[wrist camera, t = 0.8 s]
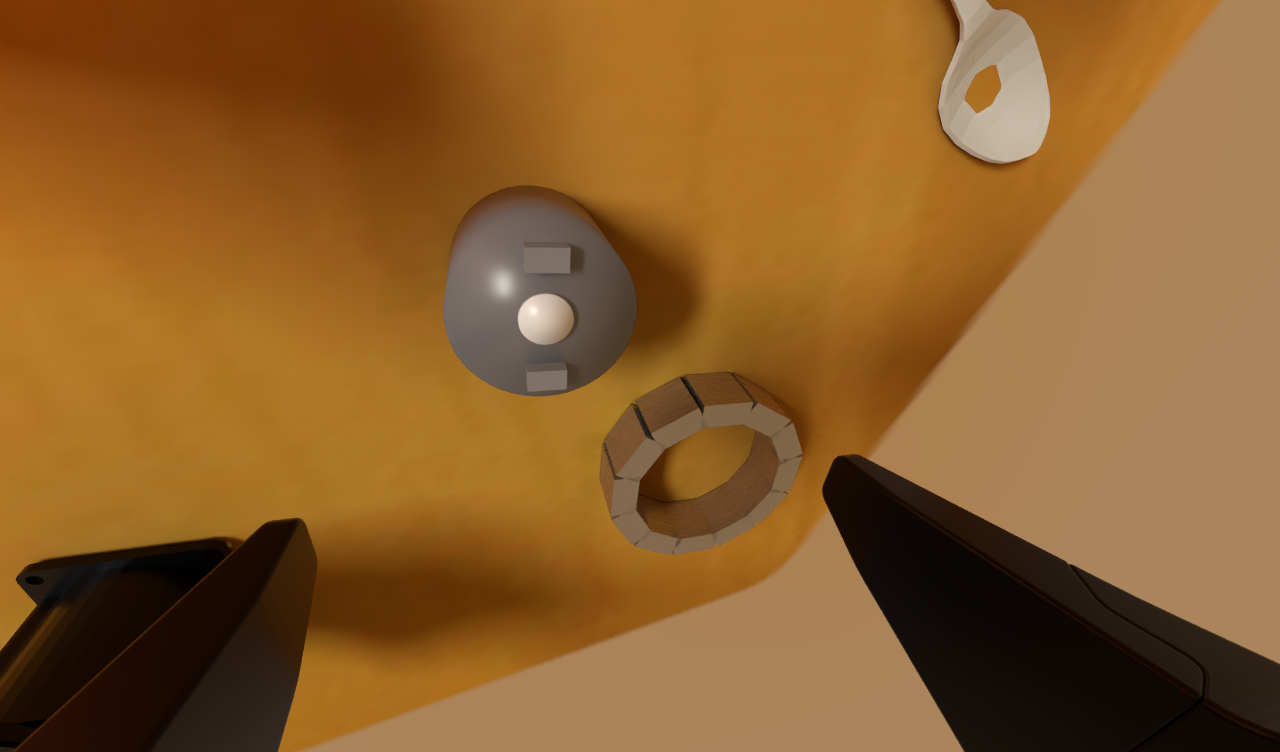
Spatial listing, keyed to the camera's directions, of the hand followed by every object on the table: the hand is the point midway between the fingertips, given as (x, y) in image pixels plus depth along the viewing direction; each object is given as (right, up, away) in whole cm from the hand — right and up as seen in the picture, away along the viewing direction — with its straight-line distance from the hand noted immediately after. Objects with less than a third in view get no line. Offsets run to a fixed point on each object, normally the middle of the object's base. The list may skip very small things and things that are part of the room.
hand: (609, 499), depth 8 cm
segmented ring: (+3, -2, +17) cm, 17 cm away
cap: (-3, +6, +10) cm, 12 cm away
